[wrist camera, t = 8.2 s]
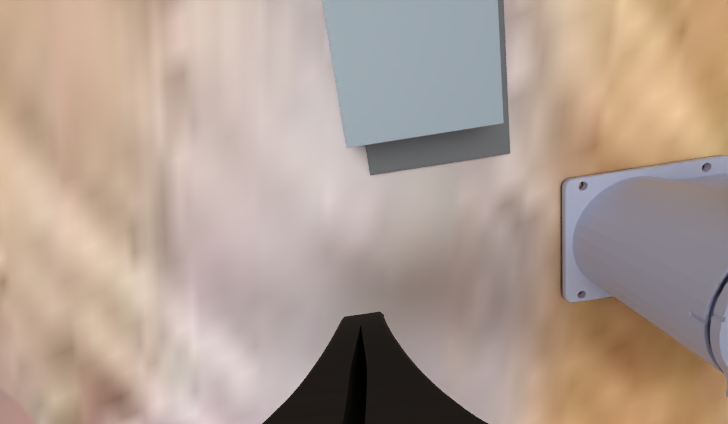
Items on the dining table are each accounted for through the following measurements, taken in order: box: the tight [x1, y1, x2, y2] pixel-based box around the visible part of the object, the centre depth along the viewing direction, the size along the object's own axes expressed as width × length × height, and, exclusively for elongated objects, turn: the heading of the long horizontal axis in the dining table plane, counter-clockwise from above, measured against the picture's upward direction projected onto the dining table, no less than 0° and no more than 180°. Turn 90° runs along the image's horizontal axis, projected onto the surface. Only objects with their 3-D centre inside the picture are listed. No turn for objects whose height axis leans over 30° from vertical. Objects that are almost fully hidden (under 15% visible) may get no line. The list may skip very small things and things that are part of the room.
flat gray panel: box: [366, 0, 510, 175], centre depth 18 cm, size 8×14×1 cm, turn 9°
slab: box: [322, 0, 504, 148], centre depth 16 cm, size 4×10×7 cm
